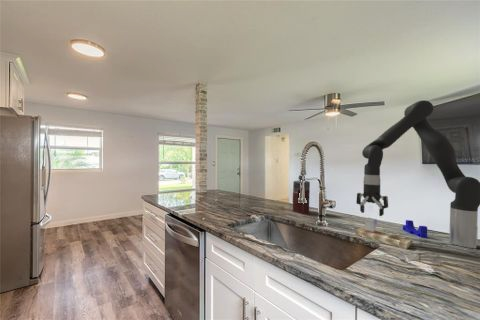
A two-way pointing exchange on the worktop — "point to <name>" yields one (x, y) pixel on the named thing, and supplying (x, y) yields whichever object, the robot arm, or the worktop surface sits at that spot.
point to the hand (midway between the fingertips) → (371, 214)
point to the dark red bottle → (296, 190)
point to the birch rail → (385, 238)
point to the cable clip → (411, 229)
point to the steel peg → (370, 225)
